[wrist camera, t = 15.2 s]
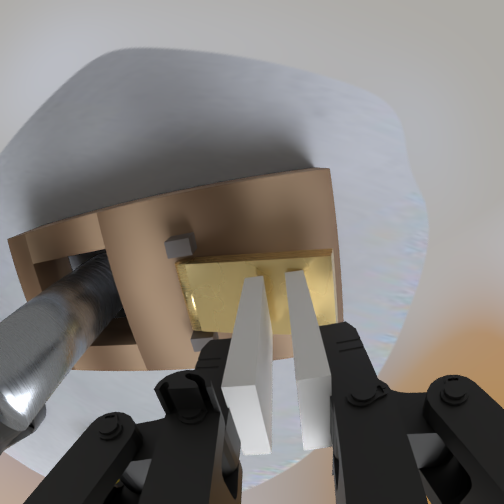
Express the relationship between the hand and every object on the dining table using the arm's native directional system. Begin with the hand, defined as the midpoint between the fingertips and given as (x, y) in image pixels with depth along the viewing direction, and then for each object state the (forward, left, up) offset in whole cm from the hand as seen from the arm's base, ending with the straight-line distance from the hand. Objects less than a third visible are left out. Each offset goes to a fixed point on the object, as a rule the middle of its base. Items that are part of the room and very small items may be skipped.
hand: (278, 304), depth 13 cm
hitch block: (-7, 0, -7) cm, 10 cm away
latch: (-1, 0, -2) cm, 2 cm away
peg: (-12, 0, -7) cm, 13 cm away
